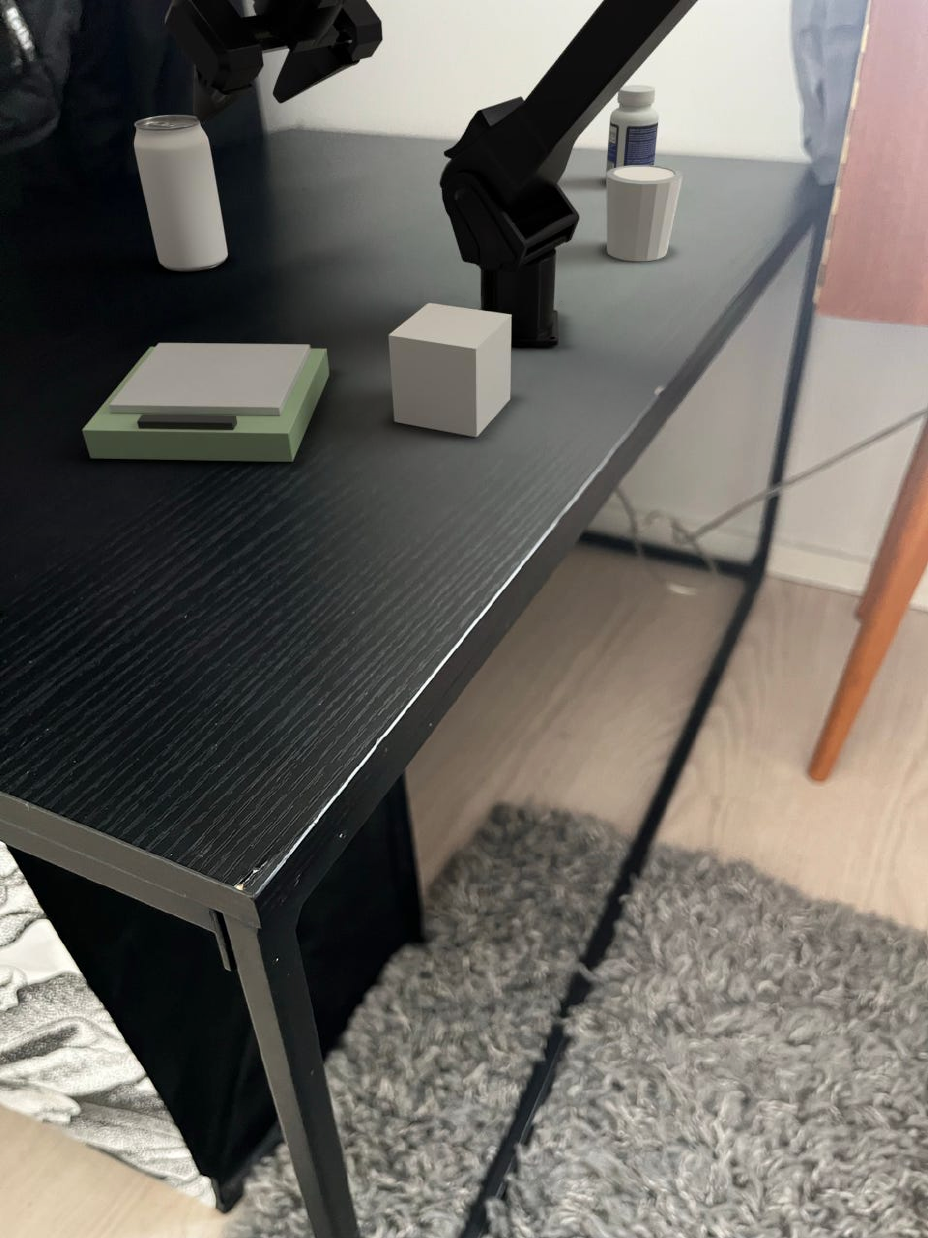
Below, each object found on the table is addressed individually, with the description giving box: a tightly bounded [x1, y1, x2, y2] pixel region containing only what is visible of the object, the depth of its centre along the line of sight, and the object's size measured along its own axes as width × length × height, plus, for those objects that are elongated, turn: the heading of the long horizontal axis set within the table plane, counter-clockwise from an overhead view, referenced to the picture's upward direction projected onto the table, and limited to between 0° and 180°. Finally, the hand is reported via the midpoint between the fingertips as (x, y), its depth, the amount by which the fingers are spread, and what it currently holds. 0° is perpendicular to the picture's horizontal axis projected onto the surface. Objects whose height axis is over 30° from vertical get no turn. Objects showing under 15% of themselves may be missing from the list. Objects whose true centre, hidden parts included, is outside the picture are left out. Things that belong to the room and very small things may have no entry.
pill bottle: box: [605, 84, 660, 174], centre depth 106 cm, size 5×5×10 cm
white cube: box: [388, 302, 512, 438], centre depth 62 cm, size 6×6×6 cm
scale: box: [81, 342, 330, 463], centre depth 63 cm, size 13×13×3 cm
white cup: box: [605, 165, 684, 262], centre depth 87 cm, size 7×7×7 cm
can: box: [133, 114, 229, 273], centre depth 85 cm, size 6×6×12 cm
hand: (239, 107), depth 78 cm, fingers open, 9 cm apart
